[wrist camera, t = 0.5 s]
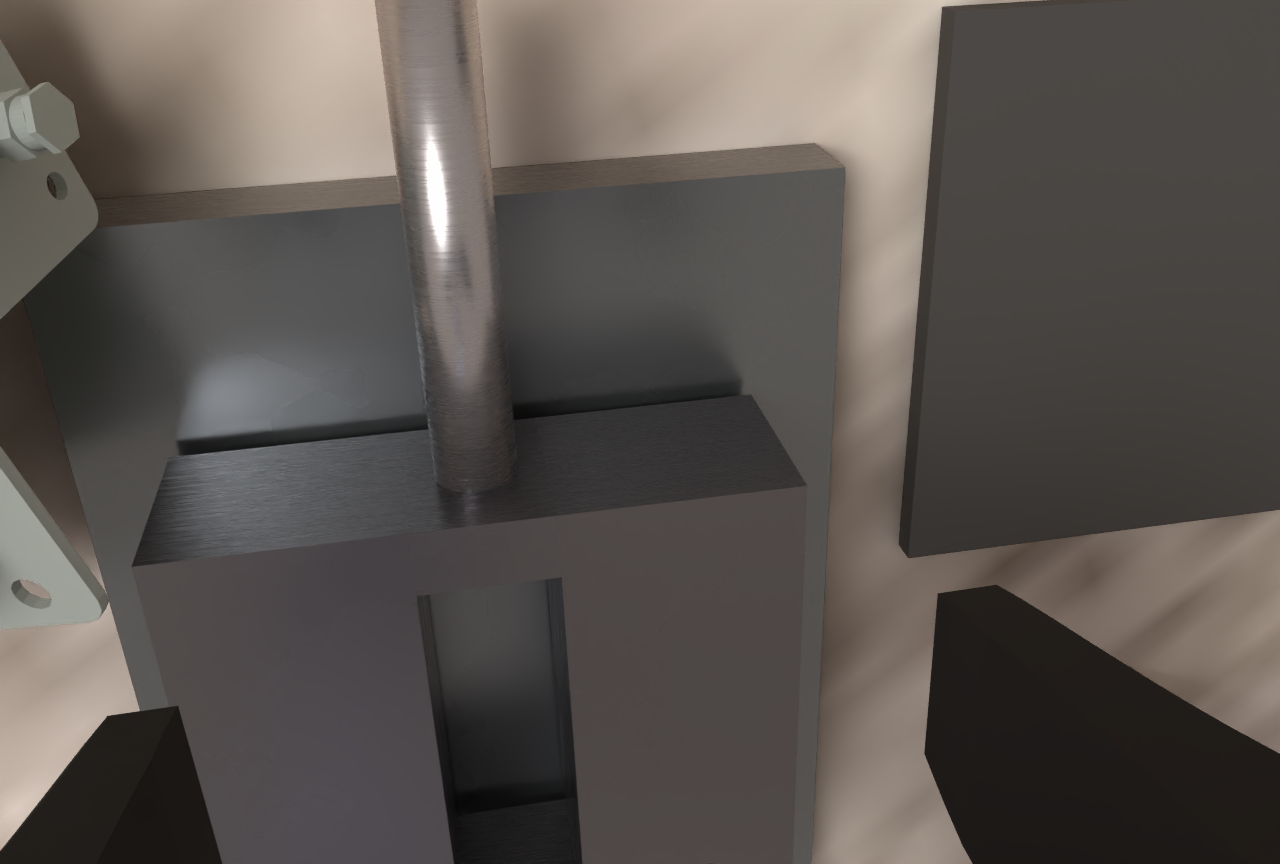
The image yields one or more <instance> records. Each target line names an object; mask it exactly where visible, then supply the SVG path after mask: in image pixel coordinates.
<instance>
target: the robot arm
mask: <svg viewBox="0 0 1280 864" xmlns="http://www.w3.org/2000/svg"><path fill="white" fill-rule="evenodd" d="M924 754H925V756H926V759H927V761H928V764H929V766H930V769H931V771H932V774H933V776H934V779H935V781H936V784H937V786H938V789H939V791H940V794H941V796H942V799H943V801H944V804H945V806H946V808H947V811H948V813H949V815H950V818H951V820H952V822H953V824H954V827H955V829H956V831H957V834H958V836H959V838H960V841H961V843H962V845H963V847H964V849H965V851H966V852H967V854H968V856H969V858H970V860H971V861H972V863H973V864H1280V754H1279V753H1277V752H1275V751H1273V750H1272V749H1270V748H1268V747H1266V746H1264V745H1262V744H1261V743H1259V742H1257V741H1255V740H1253V739H1251V738H1249V737H1248V736H1246V735H1244V734H1242V733H1240V732H1238V731H1237V730H1235V729H1233V728H1231V727H1229V726H1227V725H1226V724H1224V723H1222V722H1221V721H1219V720H1217V719H1215V718H1214V717H1212V716H1210V715H1208V714H1207V713H1205V712H1203V711H1201V710H1200V709H1198V708H1196V707H1195V706H1193V705H1191V704H1189V703H1188V702H1186V701H1184V700H1183V699H1181V698H1179V697H1178V696H1176V695H1174V694H1173V693H1171V692H1169V691H1168V690H1166V689H1164V688H1163V687H1161V686H1159V685H1158V684H1156V683H1155V682H1153V681H1151V680H1150V679H1148V678H1146V677H1145V676H1143V675H1141V674H1140V673H1138V672H1137V671H1135V670H1133V669H1132V668H1130V667H1129V666H1127V665H1125V664H1124V663H1122V662H1121V661H1119V660H1117V659H1116V658H1114V657H1113V656H1111V655H1109V654H1108V653H1106V652H1105V651H1103V650H1101V649H1100V648H1098V647H1097V646H1095V645H1094V644H1092V643H1090V642H1089V641H1087V640H1086V639H1084V638H1083V637H1081V636H1079V635H1078V634H1076V633H1075V632H1073V631H1071V630H1070V629H1068V628H1067V627H1065V626H1064V625H1062V624H1060V623H1059V622H1057V621H1056V620H1054V619H1053V618H1051V617H1049V616H1048V615H1046V614H1045V613H1043V612H1041V611H1040V610H1038V609H1037V608H1035V607H1033V606H1032V605H1030V604H1029V603H1027V602H1025V601H1024V600H1022V599H1020V598H1019V597H1017V596H1015V595H1014V594H1012V593H1010V592H1008V591H1007V590H1005V589H1003V588H1001V587H1000V586H998V585H992V586H986V587H979V588H972V589H965V590H959V591H952V592H945V593H938V598H937V610H936V622H935V634H934V646H933V658H932V670H931V682H930V694H929V706H928V718H927V729H926V741H925V753H924ZM0 864H222V860H221V857H220V853H219V849H218V846H217V842H216V839H215V835H214V832H213V828H212V825H211V821H210V817H209V814H208V810H207V807H206V803H205V800H204V796H203V792H202V789H201V785H200V782H199V778H198V775H197V771H196V768H195V764H194V760H193V757H192V753H191V750H190V746H189V743H188V739H187V735H186V732H185V728H184V725H183V721H182V718H181V714H180V711H179V707H178V706H172V707H166V708H159V709H152V710H145V711H138V712H132V713H125V714H118V715H111V716H107V718H106V719H105V720H104V721H103V722H102V723H101V725H100V726H99V727H98V728H97V729H96V731H95V732H94V733H93V734H92V736H91V737H90V738H89V739H88V741H87V742H86V743H85V744H84V745H83V747H82V748H81V749H80V751H79V752H78V753H77V754H76V756H75V757H74V758H73V759H72V761H71V762H70V763H69V765H68V766H67V767H66V768H65V770H64V771H63V772H62V774H61V775H60V776H59V777H58V779H57V780H56V781H55V783H54V784H53V785H52V786H51V788H50V789H49V790H48V792H47V793H46V794H45V795H44V797H43V798H42V799H41V801H40V802H39V803H38V804H37V806H36V807H35V808H34V809H33V811H32V812H31V813H30V814H29V816H28V817H27V818H26V820H25V821H24V822H23V823H22V825H21V826H20V827H19V828H18V830H17V831H16V832H15V834H14V835H13V836H12V837H11V839H10V840H9V841H8V842H7V843H6V845H5V846H4V847H3V848H2V849H1V851H0Z"/></svg>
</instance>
